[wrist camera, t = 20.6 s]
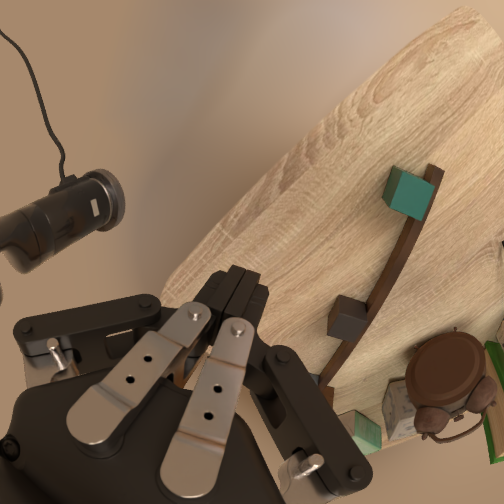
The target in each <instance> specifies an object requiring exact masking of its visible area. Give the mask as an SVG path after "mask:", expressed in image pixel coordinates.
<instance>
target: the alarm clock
mask: <svg viewBox="0 0 504 504" xmlns="http://www.w3.org/2000/svg"><path fill="white" fill-rule="evenodd" d="M456 330H457V327H454V331H453V332H449V333H445V334H442V335H439V336H437V337H435V338H433V339H431V340H429V341H428V342H426V343H425V344H424V345H423V346H421V347H420V348H418V347H417V346H415V347H414V349H417V352H416V353H415V354H414V355H413V357H412V358H411V360H410V362H409V364H408V366H407V369H406V374H405V384H406V388H407V393H408V396H409V399H410V401H411V403H412V404H413V406H414V407H415V409H416V410H417V411H416V414H415V417H414V427H415V429H416V430H417V431H416V432H417V433H419V434H423V435H422V440H425V439H426V438H427V436H428V435H429V436H430V437H431V438H432V439H433V440H434V441H435V442H436V443H440V444H441V443H448V442H452V441H455V440H458V439H460V438H462V437H465V436H467V435H469V434H470V433H472V432H474V431H475V430H476V429H478V428H479V427H480V426H481V425H482V423H483V422H484V419H485V416H486V412H487V409H488V407H489V406H492V407H495V406H496V404H497V403H496V401H494V400H495V397H496V394H497V383H496V382H495V380H494V379H493V378H492V377H490V376H489V375H488V376H486V358H485V352H484V349H483V346H482V345H481V343H480V342H479V341H478V340H477V339H476V338H475V337H474V336H472V335H470V334H467V333H463V332H456ZM466 410H468V411H469V412H472V413H475V414H478V413H482V412H483V415H482V418H481V420H480V421H479V423H477V424H476V425H475V426H473V427H472V428H471V429H469V430H467V431H465V432H463V433H461V434H458V435H456V436H453V437H450V438H443V439H439V438H437V437H436V436H435V434H438V433H440V432H441V431H442V430H443V429H444V428H445V427H446V425H447V423H448V421H449V419H450V418H453V417H455V418H454V422H456V421H459V420H461V419H463V418H464V415H460V414H462V413H463V412H465V411H466ZM459 415H460V416H459ZM456 416H457V417H456Z"/></svg>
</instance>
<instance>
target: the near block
mask: <svg viewBox="0 0 504 504" xmlns="http://www.w3.org/2000/svg"><path fill="white" fill-rule="evenodd" d="M434 188H435V186H434V185H432V184H430V183H429V182H427V181H426V180H424V179H422V178H420V177H418V176H416V175H414V174H411V173H409V172H407V171H405V170H403V169H400V168H398V167H396V166H393V168H392V171H391V174H390V177H389V180H388V182H387V185H386V188H385V191H384V193H383V196H382V198H383V200H384V201H385V202H386V204H387V205H388V207H389V208H391V209H394V210H396V211H398V212H401V213H403V214H406V215H408V216H410V217H413V218H415V219H417V220H419V221H422V218H423V216H424V214H425V211H426V209H427V206H428V204H429V201H430V199H431V196H432V193H433V191H434Z"/></svg>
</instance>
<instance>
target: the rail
mask: <svg viewBox="0 0 504 504" xmlns="http://www.w3.org/2000/svg"><path fill="white" fill-rule="evenodd" d="M444 172H445V171H444V170H442V169H440V168H438V167H436V166H434V165H432V164H428V167H427V170H426V173H425V176H424V178H423V179H424V180H426V181H427V182H429V183H430V184H432V185H434V186H435V188H434V191H433V193H432V196H431V199H430V201H429V204H428V206H427V209H426V211H425V214H424V216H423V218H422V221H419V220H417V219H415V218H413V217H410V216H409V217H408V219H407V221H406V224H405V226H404V228H403V231H402V233H401V235H400V237H399V239H398V242H397V244H396V246H395V248H394V250H393V252H392V254H391V256H390V258H389V260H388V262H387V264H386V266H385V268H384V270H383V272H382V274H381V276H380V278H379V280H378V282H377V284H376V286H375V288H374V289H373V291H372V293H371V295H370V297H369V298H368V300H367V302H366V304H365V305H366V313H367V321H368V322H367V324H366V325H365V327H364V328H363V330H362V331H361V333H360V335H359V336H358V338H357V339H356V341H355V342H354V343H352V342H348V341H345V340H343V342H342V343H341V345H340V346H339V348H338V350H337V351H336V353H335V354H334V356H333V357H332V359H331V360H330V361H329V363H328V364H327V366H326V367H325V369H324V370H323V372H322V373H321V374H320V376H319V380H318V387H319V389H320V390H321V392H322V391H323V390H324V388H325V387H326V386H327V385H328V383H329V382H330V381H331V379H332V378H333V377H334V376H335V374H336V373H337V372H338V370H339V369H340V368H341V366H342V365H343V363H344V362H345V361H346V359H347V358H348V357H349V355H350V354H351V352H352V351H353V349H354V348H355V347H356V345H357V344H358V342H359V341H360V339H361V338H362V336H363V335H364V333H365V332H366V330H367V329H368V327H369V325H370V324H371V322H372V321H373V319H374V318H375V316H376V314H377V313H378V311H379V309H380V308H381V306H382V304H383V303H384V301H385V299H386V298H387V296H388V294H389V293H390V291H391V289H392V287H393V285H394V284H395V282H396V280H397V278H398V276H399V274H400V273H401V271H402V269H403V267H404V265H405V263H406V261H407V259H408V257H409V255H410V253H411V251H412V249H413V247H414V245H415V243H416V241H417V239H418V236H419V234H420V232H421V230H422V228H423V225H424V223H425V221H426V219H427V216H428V214H429V211H430V209H431V207H432V204H433V202H434V199H435V197H436V194H437V191H438V189H439V186H440V183H441V181H442V178H443V175H444Z"/></svg>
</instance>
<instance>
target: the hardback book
mask: <svg viewBox="0 0 504 504" xmlns="http://www.w3.org/2000/svg"><path fill="white" fill-rule="evenodd" d="M485 347H486V349H485V350H484V352H485V358H486V376H488V375H489V376H490V377H492V378H493V379H494V380H495V382H496V383H497V394H496V397H495V400H494V401H496V403H497V404H496V406H495V407H492V406H489V407H488V409H487V412H486V416H485V419H484V422H483V425H484V430H485V434H486V440H487V445H488V451H489V458H490V464H494V463H498V462H501V461H504V351H503V349H502V347H501V345H500V343H495V342H490V341H486V343H485ZM482 415H483V412H482V413H481V416H482Z"/></svg>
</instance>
